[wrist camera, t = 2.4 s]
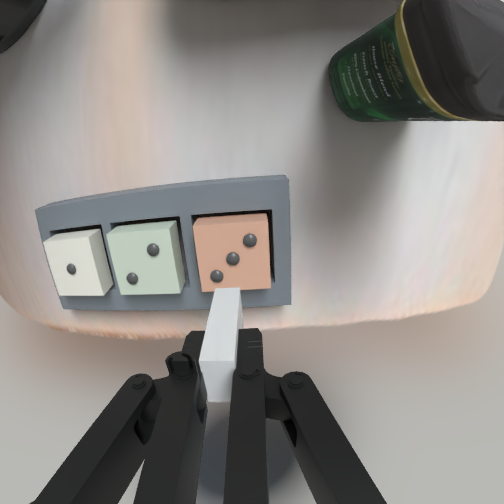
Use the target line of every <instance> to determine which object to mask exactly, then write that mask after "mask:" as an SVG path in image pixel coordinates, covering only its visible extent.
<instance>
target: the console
mask: <svg viewBox="0 0 504 504" xmlns="http://www.w3.org/2000/svg"><path fill="white" fill-rule="evenodd" d="M268 209H270V213H271V234H272V258H273V269H272V270H270V278H271V288H267V289H250V290H240V293H241V303H242V308H245V307H263V306H278V305H291V236H290V200H289V179H288V178H287V177H286V176H285V175H277V176H258V177H243V178H229V179H217V180H205V181H195V182H185V183H176V184H167V185H159V186H151V187H144V188H136V189H129V190H122V191H116V192H109V193H103V194H97V195H91V196H85V197H80V198H74V199H69V200H64V201H59V202H54V203H50V204H47V205H45V206H43V207H40V208H38V209H36V210H35V212H36V217H37V222H38V226H39V231H40V235H41V239H42V243H43V242H44V241H46V240H47V239H49V238H50V237H52V236H54V235H55V234H60V233H66V231H65V229H66V228H74V227H82V226H90V225H98V224H101V226H102V231H103V236H104V240H105V245H106V249H107V254H108V258H109V262H110V266H111V270H112V274H113V278H112V280H113V285H112V286H111V288H110V289H109V290H108V291H107V292H106V294H105V295H104V296H59V293H58V291H57V293H58V296H59V299H60V301H61V304H62V307H63V309H74V310H198V309H211V304H212V300H213V296H214V292H215V291H211V292H202V288H201V281H200V275H199V268H198V261H197V254H196V247H195V240H194V232H193V225H194V223H195V222H196V220H197V218H198V214H209V213H222V212H236V211H251V210H268ZM173 216H180V222H181V229H182V236H183V243H184V250H185V256H186V263H187V269H188V274H185V279H186V281H185V284H184V286H183V288H182V291H181V293H177V294H141V295H121V293H120V289H119V286H118V282H117V278H116V274H115V270H114V266H113V262H112V258H111V254H110V249H109V245H108V240H107V236H106V234H107V233H109V232H110V231H112V230H113V229H114V228H116V227H117V226H123V225H124V223H123V222H124V221H133V220H142V219H152V218H163V217H173ZM43 247H44V244H43ZM44 251H45V247H44ZM45 254H46V251H45ZM46 258H47V255H46ZM47 261H48V258H47ZM48 265H49V262H48ZM49 268H50V265H49ZM50 271H51V269H50ZM51 275H52V272H51ZM52 278H53V275H52ZM53 281H54V278H53ZM54 284H55V282H54ZM55 287H56V285H55ZM56 290H57V288H56Z"/></svg>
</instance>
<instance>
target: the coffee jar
mask: <svg viewBox="0 0 504 504" xmlns="http://www.w3.org/2000/svg"><path fill="white" fill-rule="evenodd" d="M329 75H330V81H331V85H332V89H333V93H334V96H335V98H336V101H337V103H338V105H339V107H340V108H341V110H342V111H343V112H344V113H345V114H346V115H347V116H348V117H350V118H352V119H354V120H357V121H363V122H385V121H504V2H502V1H500V0H404V1H403V2H402V3H401V4H400V6H399V7H398V10H397V12H396V13H395V14H394V15H392V16H391V17H390V18H388V19H386V20H385V21H383V22H382V23H380V24H379V25H377V26H376V27H374V28H373V29H371V30H370V31H368V32H367V33H365V34H364V35H362V36H361V37H359V38H358V39H356V40H354V41H353V42H351V43H350V44H348V45H346V46H345V47H344V48H342V49H341V50H340V51H338V52H337V53H336V54H335V55H334V56H333V57H332V59H331V61H330V64H329Z"/></svg>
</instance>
